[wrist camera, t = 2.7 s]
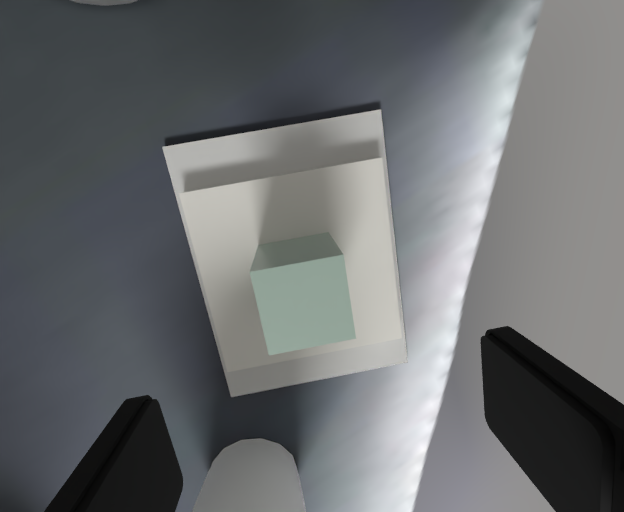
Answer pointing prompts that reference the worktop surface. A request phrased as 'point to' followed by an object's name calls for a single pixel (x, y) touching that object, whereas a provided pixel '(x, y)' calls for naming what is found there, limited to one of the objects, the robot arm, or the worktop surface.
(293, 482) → the foam cup
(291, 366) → the mat
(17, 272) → the worktop surface
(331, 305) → the lid
